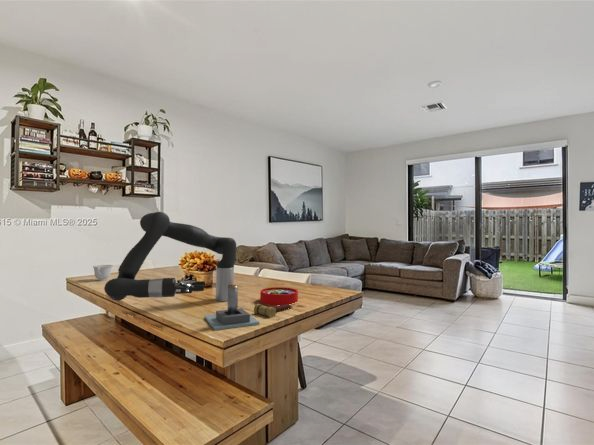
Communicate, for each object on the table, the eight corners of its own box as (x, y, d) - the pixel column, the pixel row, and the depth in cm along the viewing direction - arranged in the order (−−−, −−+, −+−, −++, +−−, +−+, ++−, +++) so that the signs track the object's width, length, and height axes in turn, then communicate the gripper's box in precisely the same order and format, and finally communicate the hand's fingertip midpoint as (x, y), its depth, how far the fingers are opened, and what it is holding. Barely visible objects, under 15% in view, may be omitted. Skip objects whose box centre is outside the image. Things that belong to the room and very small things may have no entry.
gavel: (285, 299, 162) (300, 303, 156) (284, 309, 162) (299, 312, 155) (253, 304, 146) (269, 308, 140) (253, 314, 146) (268, 318, 139)
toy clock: (261, 287, 181) (297, 287, 182) (261, 297, 181) (296, 297, 182) (259, 294, 161) (299, 294, 162) (258, 306, 161) (298, 306, 162)
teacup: (87, 282, 214) (87, 267, 214) (96, 278, 229) (96, 264, 229) (107, 282, 217) (107, 267, 217) (114, 278, 231) (115, 264, 231)
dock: (204, 317, 138) (204, 308, 138) (244, 313, 146) (245, 304, 146) (214, 330, 122) (214, 319, 122) (259, 324, 130) (259, 314, 130)
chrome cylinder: (226, 319, 133) (226, 285, 133) (235, 318, 135) (236, 284, 135) (228, 321, 129) (229, 286, 130) (238, 320, 131) (239, 286, 132)
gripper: (159, 281, 122) (203, 280, 125) (165, 275, 135) (205, 273, 139) (159, 301, 122) (203, 299, 125) (165, 293, 135) (205, 291, 139)
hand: (204, 285), depth 132 cm, fingers open, 8 cm apart
